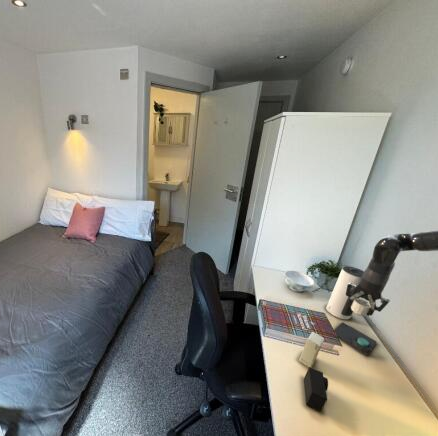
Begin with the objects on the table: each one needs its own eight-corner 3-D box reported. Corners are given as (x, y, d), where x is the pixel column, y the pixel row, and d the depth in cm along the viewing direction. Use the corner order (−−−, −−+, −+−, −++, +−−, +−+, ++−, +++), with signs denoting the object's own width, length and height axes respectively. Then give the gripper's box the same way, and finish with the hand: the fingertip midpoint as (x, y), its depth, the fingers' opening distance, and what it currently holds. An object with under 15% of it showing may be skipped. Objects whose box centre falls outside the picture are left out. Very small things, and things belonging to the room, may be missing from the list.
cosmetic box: (310, 369, 91) (320, 346, 87) (298, 360, 94) (307, 338, 90) (315, 359, 95) (325, 338, 91) (303, 352, 98) (312, 330, 94)
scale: (376, 344, 104) (379, 339, 103) (366, 357, 97) (369, 352, 96) (341, 324, 114) (343, 319, 113) (330, 334, 107) (332, 330, 106)
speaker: (332, 317, 118) (350, 275, 108) (321, 303, 127) (337, 263, 118) (355, 321, 116) (376, 278, 107) (342, 306, 126) (360, 266, 116)
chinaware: (276, 281, 145) (279, 271, 142) (296, 279, 147) (300, 269, 145) (294, 297, 131) (298, 286, 128) (316, 295, 134) (320, 284, 131)
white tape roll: (368, 313, 102) (373, 304, 101) (364, 318, 99) (368, 309, 98) (352, 305, 107) (357, 296, 105) (348, 309, 104) (352, 301, 102)
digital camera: (325, 414, 76) (332, 401, 74) (305, 405, 79) (312, 392, 76) (320, 386, 85) (327, 373, 82) (303, 379, 87) (309, 366, 85)
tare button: (368, 344, 100) (370, 342, 99) (366, 348, 98) (367, 346, 98) (358, 338, 103) (359, 336, 102) (355, 342, 101) (356, 339, 100)
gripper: (400, 285, 93) (382, 317, 99) (356, 268, 104) (343, 297, 110) (395, 291, 89) (377, 324, 95) (350, 272, 100) (336, 303, 107)
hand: (359, 310), depth 103 cm, fingers closed on white tape roll, 6 cm apart
